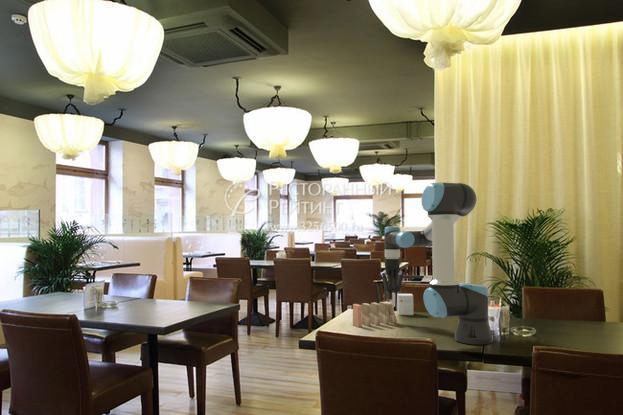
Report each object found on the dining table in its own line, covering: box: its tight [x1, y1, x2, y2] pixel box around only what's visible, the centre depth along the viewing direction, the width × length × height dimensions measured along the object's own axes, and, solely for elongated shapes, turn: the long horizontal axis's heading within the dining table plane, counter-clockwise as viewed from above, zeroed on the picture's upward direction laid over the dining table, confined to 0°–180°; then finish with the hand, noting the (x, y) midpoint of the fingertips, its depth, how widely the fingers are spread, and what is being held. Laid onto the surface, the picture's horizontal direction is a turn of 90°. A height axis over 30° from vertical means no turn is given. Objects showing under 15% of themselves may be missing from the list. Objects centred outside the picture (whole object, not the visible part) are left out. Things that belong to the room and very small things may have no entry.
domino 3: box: [370, 302, 381, 326], centre depth 243 cm, size 2×5×10 cm, turn 25°
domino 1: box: [352, 303, 363, 328], centre depth 239 cm, size 2×5×10 cm, turn 25°
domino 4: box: [378, 301, 390, 325], centre depth 245 cm, size 2×5×10 cm, turn 25°
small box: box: [397, 293, 415, 316], centre depth 268 cm, size 8×6×10 cm
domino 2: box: [361, 302, 372, 327], centre depth 241 cm, size 2×5×10 cm, turn 25°
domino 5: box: [384, 301, 398, 324], centre depth 246 cm, size 2×5×10 cm, turn 25°
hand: (392, 306), depth 247 cm, fingers closed
